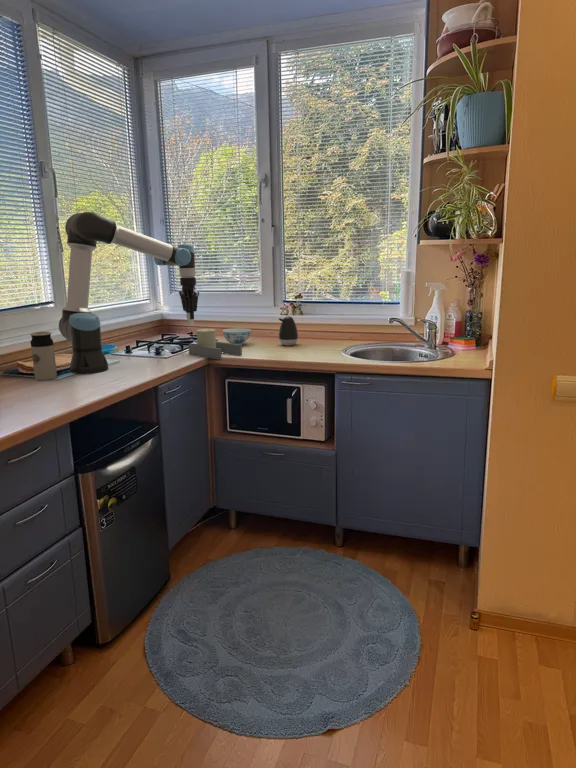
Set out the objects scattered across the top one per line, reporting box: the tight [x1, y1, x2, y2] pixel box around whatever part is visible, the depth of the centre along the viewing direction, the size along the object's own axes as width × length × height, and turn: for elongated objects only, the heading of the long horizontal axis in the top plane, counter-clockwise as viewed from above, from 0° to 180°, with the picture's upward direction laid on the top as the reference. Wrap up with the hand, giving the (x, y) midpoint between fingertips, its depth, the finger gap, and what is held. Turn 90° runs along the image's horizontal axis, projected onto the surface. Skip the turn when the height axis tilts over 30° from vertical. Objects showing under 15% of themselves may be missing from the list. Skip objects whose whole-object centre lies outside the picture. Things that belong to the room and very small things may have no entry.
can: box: [195, 328, 217, 348], centre depth 259 cm, size 9×9×12 cm
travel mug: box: [30, 331, 58, 382], centre depth 209 cm, size 8×8×18 cm
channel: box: [188, 340, 243, 361], centre depth 256 cm, size 14×22×5 cm, turn 49°
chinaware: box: [222, 327, 252, 346], centre depth 285 cm, size 15×15×8 cm
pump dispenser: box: [278, 315, 299, 347], centre depth 281 cm, size 10×10×15 cm
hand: (191, 325), depth 265 cm, fingers closed
